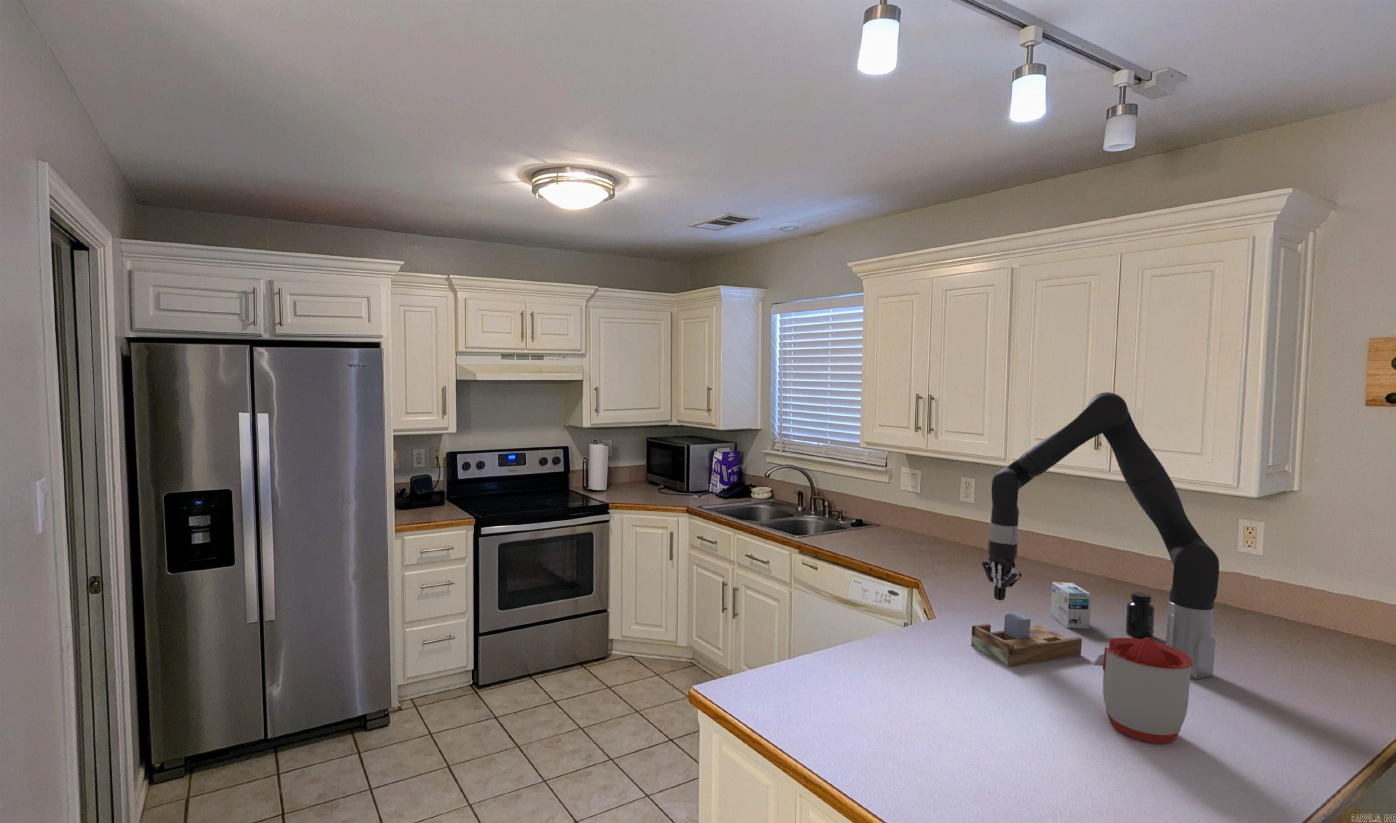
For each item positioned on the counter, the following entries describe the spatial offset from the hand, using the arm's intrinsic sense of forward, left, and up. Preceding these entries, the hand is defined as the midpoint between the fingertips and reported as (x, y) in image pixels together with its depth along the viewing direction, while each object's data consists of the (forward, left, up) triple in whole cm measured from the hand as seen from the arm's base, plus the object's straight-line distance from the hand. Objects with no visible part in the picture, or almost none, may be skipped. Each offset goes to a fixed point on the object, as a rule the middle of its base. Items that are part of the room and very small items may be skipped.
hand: (999, 599), depth 198 cm
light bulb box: (+1, -29, -10) cm, 30 cm away
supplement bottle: (-13, -40, -10) cm, 43 cm away
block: (-8, +1, -7) cm, 11 cm away
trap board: (-11, +1, -10) cm, 15 cm away
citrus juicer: (-51, +11, -10) cm, 53 cm away
